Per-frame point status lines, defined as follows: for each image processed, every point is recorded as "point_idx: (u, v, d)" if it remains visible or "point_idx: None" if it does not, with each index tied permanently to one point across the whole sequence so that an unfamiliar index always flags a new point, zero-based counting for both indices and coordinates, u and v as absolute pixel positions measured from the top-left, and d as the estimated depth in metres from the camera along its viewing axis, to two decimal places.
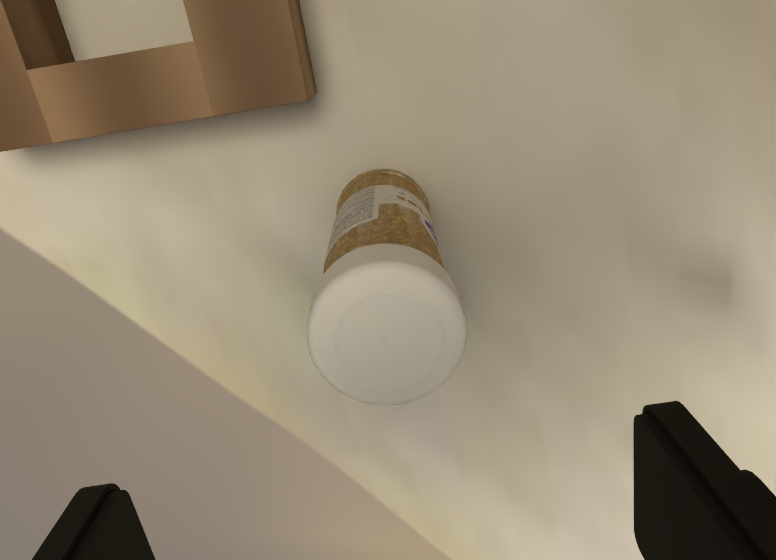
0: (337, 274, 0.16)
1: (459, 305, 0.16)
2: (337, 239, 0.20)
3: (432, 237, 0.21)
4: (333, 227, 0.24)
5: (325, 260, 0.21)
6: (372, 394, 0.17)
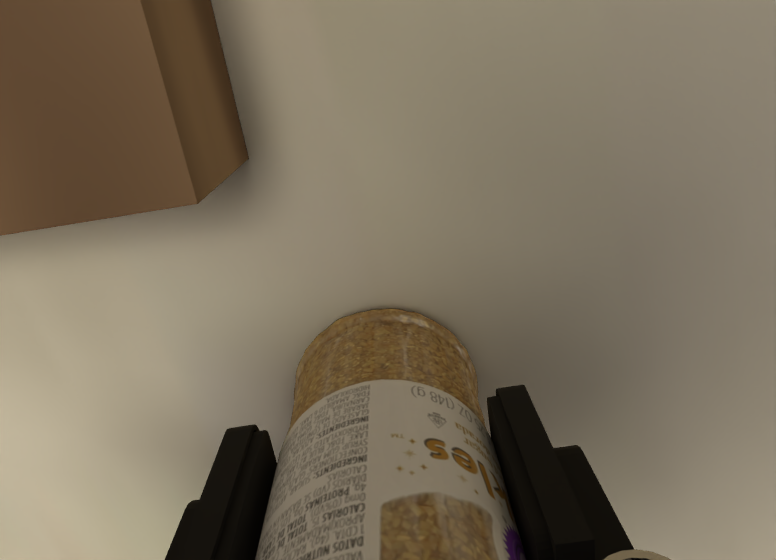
0: None
1: None
2: None
3: None
4: (269, 502, 0.10)
5: None
6: None
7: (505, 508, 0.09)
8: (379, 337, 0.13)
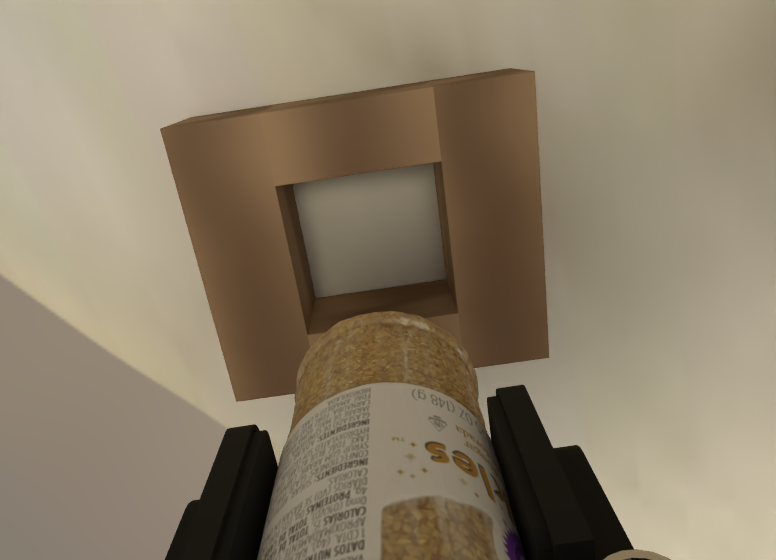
0: None
1: None
2: None
3: None
4: (270, 505, 0.10)
5: None
6: None
7: (505, 511, 0.09)
8: (380, 340, 0.13)
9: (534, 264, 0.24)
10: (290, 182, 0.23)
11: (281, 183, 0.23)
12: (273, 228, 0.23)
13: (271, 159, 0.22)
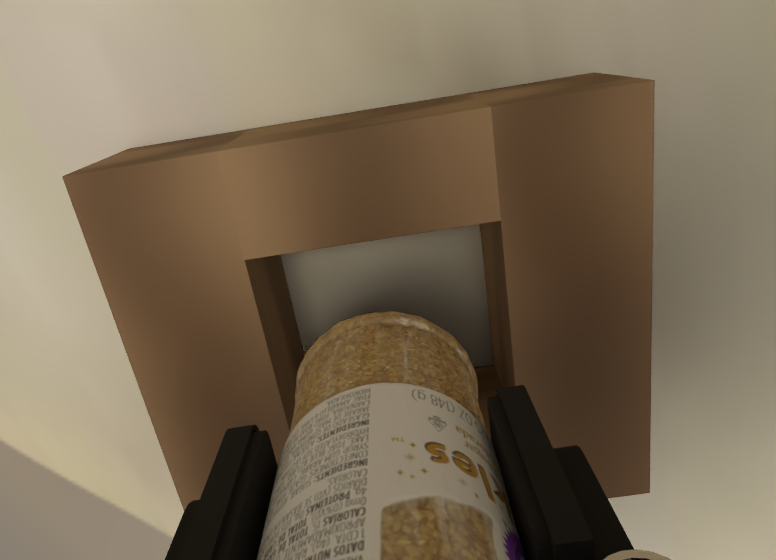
0: None
1: None
2: None
3: None
4: (270, 505, 0.10)
5: None
6: None
7: (505, 512, 0.09)
8: (380, 340, 0.13)
9: (636, 367, 0.16)
10: (268, 254, 0.15)
11: (254, 255, 0.15)
12: (244, 320, 0.15)
13: (237, 220, 0.14)
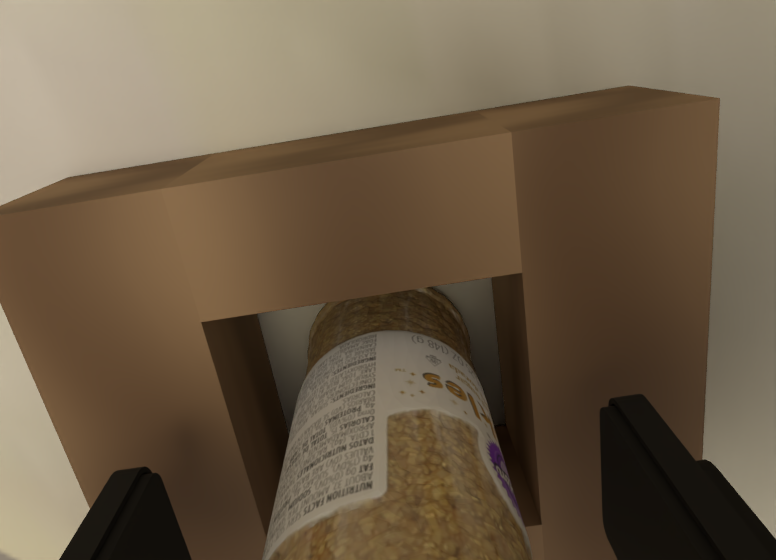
0: None
1: None
2: (285, 539, 0.08)
3: (513, 511, 0.09)
4: (291, 429, 0.12)
5: None
6: None
7: (490, 429, 0.11)
8: (384, 299, 0.14)
9: (684, 445, 0.13)
10: (230, 314, 0.12)
11: (213, 316, 0.12)
12: (202, 394, 0.12)
13: (190, 274, 0.11)
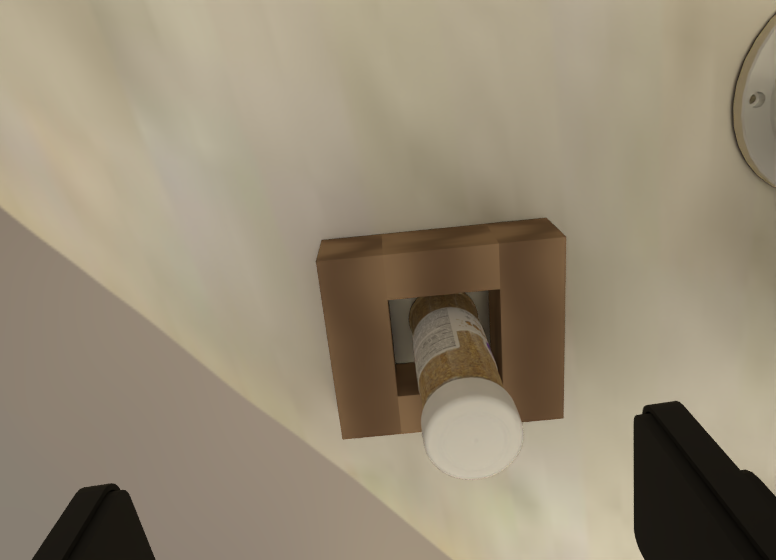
0: (447, 400, 0.26)
1: (521, 422, 0.26)
2: (431, 359, 0.30)
3: (493, 358, 0.31)
4: (418, 338, 0.34)
5: (421, 371, 0.31)
6: (461, 473, 0.27)
7: (486, 340, 0.33)
8: (446, 296, 0.37)
9: (557, 356, 0.35)
10: (398, 298, 0.34)
11: (391, 298, 0.34)
12: (383, 326, 0.34)
13: (387, 283, 0.33)
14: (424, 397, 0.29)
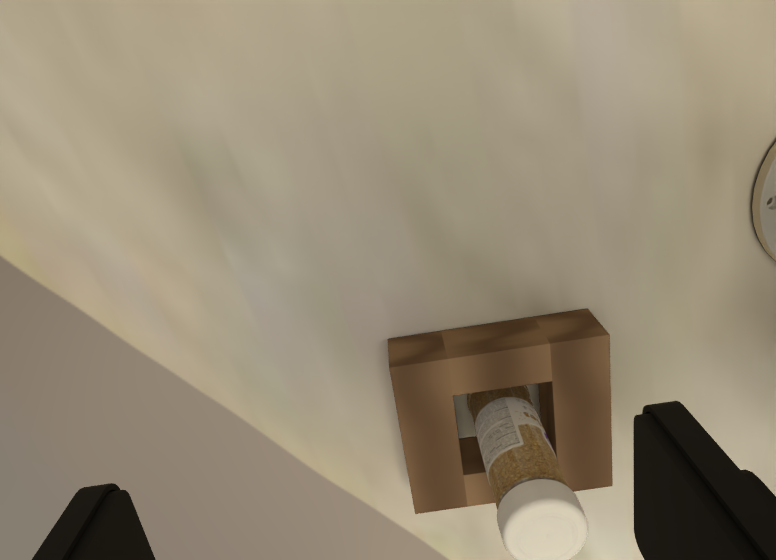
0: (522, 503, 0.30)
1: (586, 519, 0.31)
2: (498, 455, 0.35)
3: (552, 449, 0.35)
4: (481, 428, 0.38)
5: (490, 465, 0.35)
6: None
7: (543, 429, 0.37)
8: None
9: (605, 434, 0.40)
10: (462, 393, 0.38)
11: (456, 394, 0.38)
12: (449, 417, 0.39)
13: (452, 382, 0.38)
14: (497, 493, 0.33)
